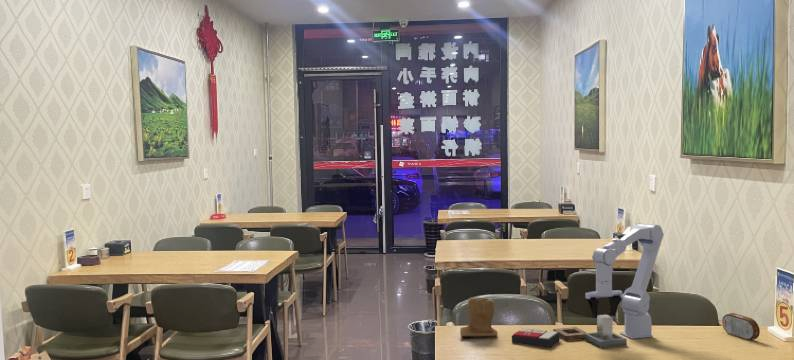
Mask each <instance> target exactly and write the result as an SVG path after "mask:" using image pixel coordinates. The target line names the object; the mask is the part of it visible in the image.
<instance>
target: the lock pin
mask: <svg viewBox="0 0 794 360" xmlns="http://www.w3.org/2000/svg"><path fill="white" fill-rule="evenodd" d="M613 317H614V316H612V315H609V314H598V316H597V318H596V332H597V339H599V340H612V339H613V333H614V332H613V322H614V321H613V319H614V318H613Z"/></svg>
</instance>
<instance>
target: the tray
mask: <svg viewBox="0 0 794 360" xmlns="http://www.w3.org/2000/svg"><path fill="white" fill-rule="evenodd" d="M584 339H585V340H586V342H587V341H588V343H589V344H592V345H593V346H594V347H597V348H599V349H607V348H608V349H609V348H617V347H625V346H628V343H627V338H626V337H624V336H622V335H619V334H617V333H615V332H613V339H612V340H599V339H597V331H596V332H587V333H584ZM584 339H583V340H584ZM585 340H584V341H585Z"/></svg>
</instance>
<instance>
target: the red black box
mask: <svg viewBox="0 0 794 360" xmlns="http://www.w3.org/2000/svg"><path fill="white" fill-rule="evenodd" d="M560 339H561V338H559V332H555V331H553V330H548V329H547V330H546V329H538V328H536V329H535V328H527V327H526V328H524V327H523V328H521V329H519V330H518V331H516V332H514V333H513V334H512V335H511V343H513V344H519V345H523V346H524V345H526V346H531V347H532V346H533V347H538V348H544V349H551V347H552V348H553V347H554V346H555V344H556V343H557V344H558V343H560V342H559V341H560ZM557 344H556V345H557Z"/></svg>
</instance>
